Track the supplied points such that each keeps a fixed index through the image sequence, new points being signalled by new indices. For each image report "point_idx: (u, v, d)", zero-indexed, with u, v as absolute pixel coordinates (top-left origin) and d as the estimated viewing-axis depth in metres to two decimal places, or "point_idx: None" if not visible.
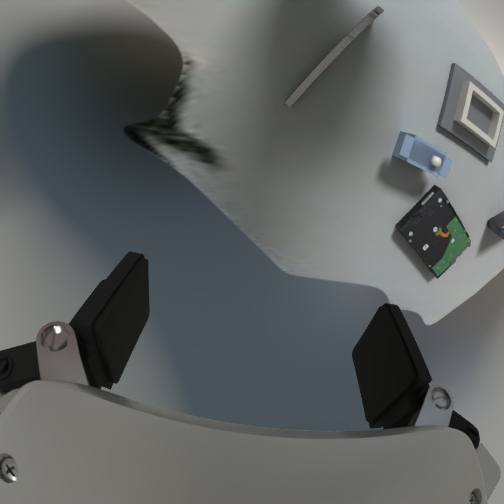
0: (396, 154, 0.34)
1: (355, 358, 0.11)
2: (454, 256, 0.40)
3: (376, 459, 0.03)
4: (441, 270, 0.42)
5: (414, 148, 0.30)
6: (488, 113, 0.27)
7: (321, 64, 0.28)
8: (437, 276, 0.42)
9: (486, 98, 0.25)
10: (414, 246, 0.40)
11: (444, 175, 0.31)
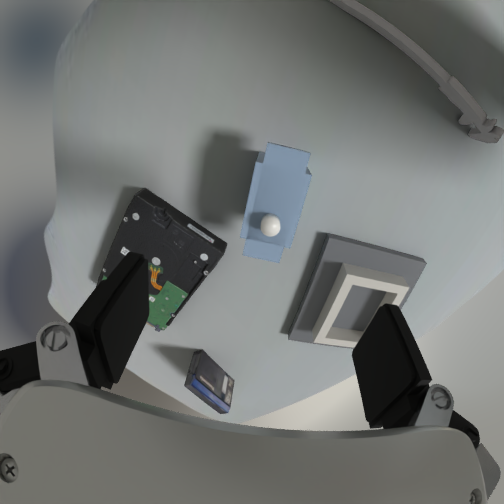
0: (262, 154, 0.21)
1: (355, 358, 0.11)
2: None
3: (375, 458, 0.03)
4: None
5: (285, 175, 0.19)
6: (360, 324, 0.30)
7: (396, 30, 0.14)
8: None
9: None
10: (120, 230, 0.25)
11: (247, 250, 0.22)
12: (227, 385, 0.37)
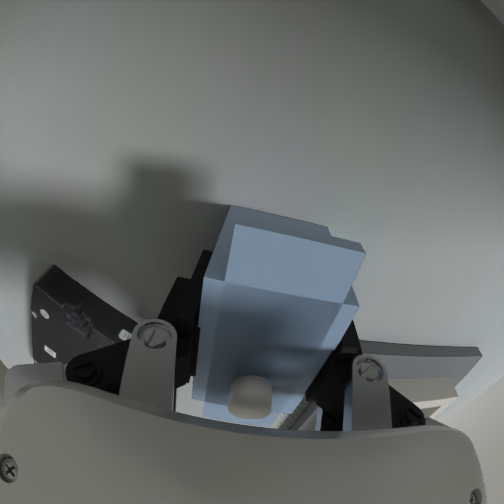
0: (235, 219, 0.10)
1: None
2: None
3: (376, 459, 0.03)
4: None
5: (289, 309, 0.07)
6: None
7: None
8: None
9: None
10: (34, 326, 0.13)
11: (209, 413, 0.10)
12: None
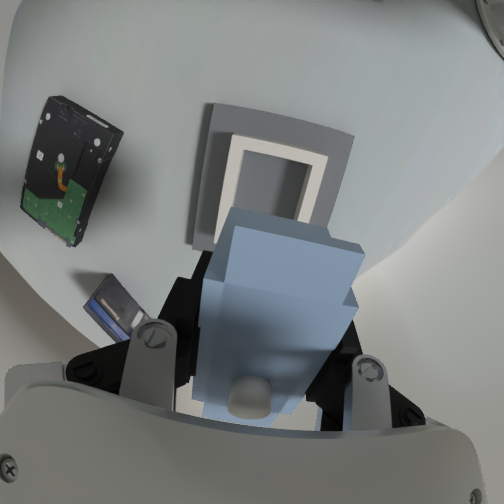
0: (235, 220, 0.10)
1: None
2: (47, 221, 0.25)
3: (375, 458, 0.03)
4: (28, 208, 0.24)
5: (288, 310, 0.07)
6: None
7: None
8: (21, 206, 0.24)
9: (306, 206, 0.22)
10: (36, 134, 0.20)
11: (209, 413, 0.10)
12: None
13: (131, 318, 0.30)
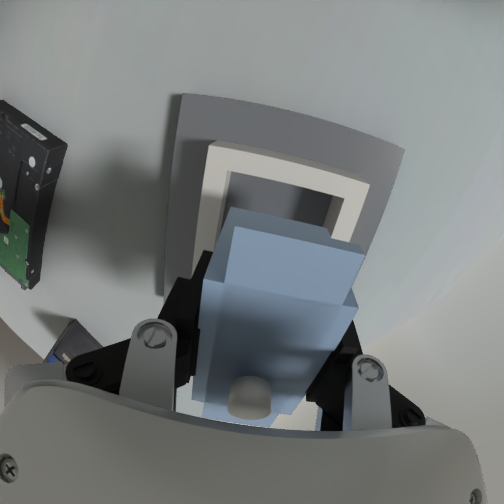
0: (235, 220, 0.10)
1: None
2: None
3: (376, 459, 0.03)
4: None
5: (288, 311, 0.07)
6: None
7: None
8: None
9: None
10: None
11: (209, 413, 0.10)
12: None
13: None
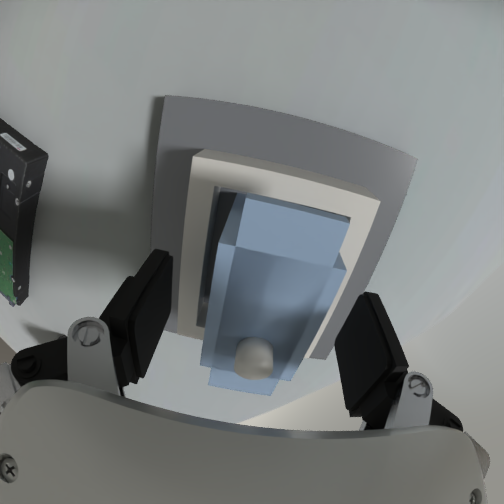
0: (242, 203, 0.11)
1: (337, 347, 0.11)
2: None
3: (375, 458, 0.03)
4: None
5: (288, 271, 0.08)
6: None
7: None
8: None
9: None
10: None
11: (215, 381, 0.11)
12: None
13: None
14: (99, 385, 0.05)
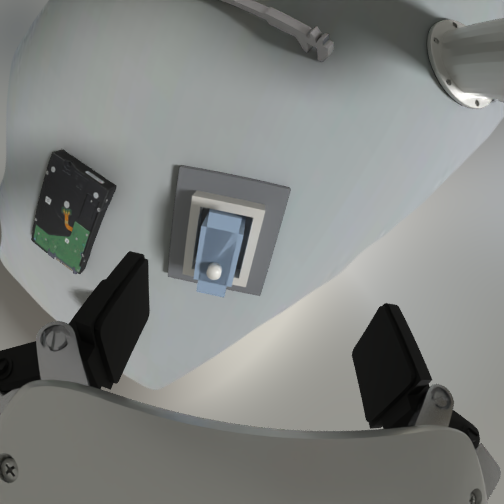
0: None
1: (355, 358, 0.11)
2: (56, 253, 0.32)
3: (376, 459, 0.03)
4: (39, 241, 0.31)
5: (223, 235, 0.26)
6: None
7: None
8: (33, 238, 0.31)
9: (250, 247, 0.29)
10: (44, 182, 0.27)
11: (199, 288, 0.28)
12: None
13: None
14: None
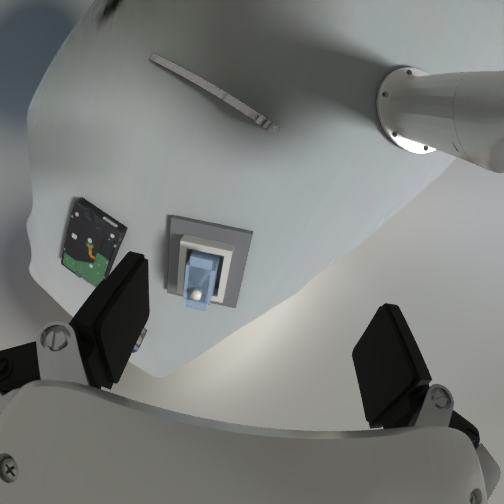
0: (194, 251, 0.39)
1: (355, 358, 0.11)
2: (82, 274, 0.44)
3: (375, 458, 0.03)
4: (67, 264, 0.43)
5: (201, 271, 0.37)
6: None
7: (190, 74, 0.28)
8: (62, 262, 0.43)
9: (223, 276, 0.40)
10: (70, 223, 0.39)
11: (187, 304, 0.40)
12: None
13: None
14: None
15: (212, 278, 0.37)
